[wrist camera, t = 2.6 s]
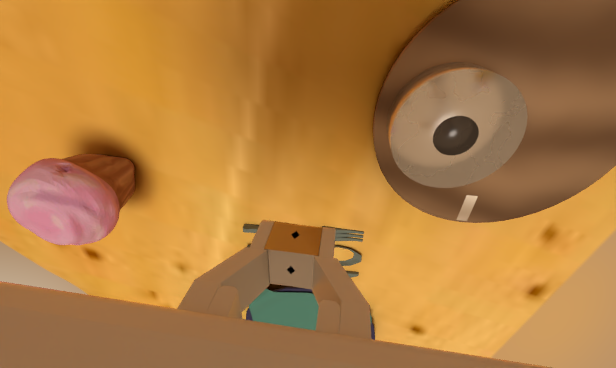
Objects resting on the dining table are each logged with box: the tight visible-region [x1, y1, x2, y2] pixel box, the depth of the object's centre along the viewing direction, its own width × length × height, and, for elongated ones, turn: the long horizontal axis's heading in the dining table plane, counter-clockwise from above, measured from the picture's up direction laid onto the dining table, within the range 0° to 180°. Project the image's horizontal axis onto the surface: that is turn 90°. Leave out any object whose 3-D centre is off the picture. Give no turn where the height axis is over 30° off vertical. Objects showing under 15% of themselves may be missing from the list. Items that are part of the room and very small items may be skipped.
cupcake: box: [7, 154, 135, 245], centre depth 28 cm, size 9×9×10 cm
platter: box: [373, 0, 616, 223], centre depth 22 cm, size 20×20×1 cm
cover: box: [387, 62, 527, 188], centre depth 21 cm, size 9×9×3 cm
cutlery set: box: [243, 224, 375, 340], centre depth 40 cm, size 20×30×2 cm, turn 0°
